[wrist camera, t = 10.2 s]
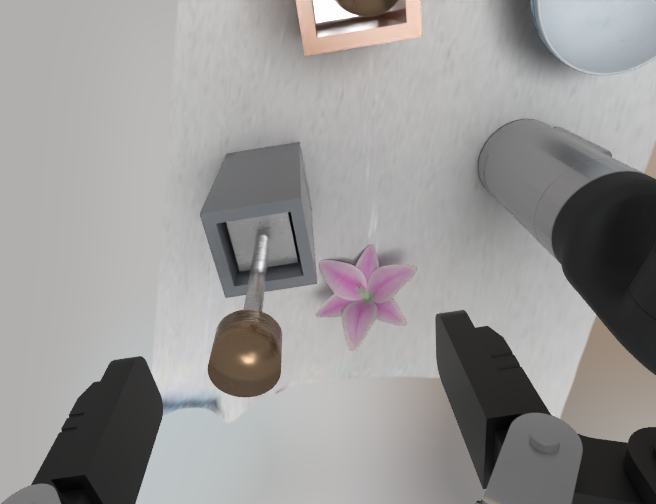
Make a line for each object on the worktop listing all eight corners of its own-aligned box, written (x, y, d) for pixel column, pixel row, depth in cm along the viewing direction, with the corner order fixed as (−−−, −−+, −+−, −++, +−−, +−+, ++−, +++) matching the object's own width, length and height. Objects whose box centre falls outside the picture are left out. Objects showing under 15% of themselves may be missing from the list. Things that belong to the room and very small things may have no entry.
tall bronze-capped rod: (287, 205, 39) (281, 327, 24) (298, 258, 41) (298, 397, 27) (225, 215, 39) (184, 342, 24) (240, 268, 41) (211, 410, 27)
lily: (421, 246, 58) (417, 252, 49) (413, 337, 59) (407, 359, 50) (329, 238, 61) (308, 242, 52) (323, 325, 62) (302, 344, 53)
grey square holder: (299, 142, 50) (300, 198, 36) (311, 209, 54) (316, 283, 40) (226, 153, 50) (199, 214, 36) (243, 220, 54) (225, 297, 40)
